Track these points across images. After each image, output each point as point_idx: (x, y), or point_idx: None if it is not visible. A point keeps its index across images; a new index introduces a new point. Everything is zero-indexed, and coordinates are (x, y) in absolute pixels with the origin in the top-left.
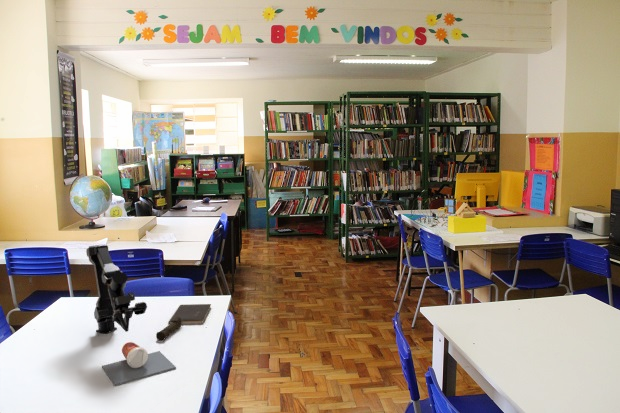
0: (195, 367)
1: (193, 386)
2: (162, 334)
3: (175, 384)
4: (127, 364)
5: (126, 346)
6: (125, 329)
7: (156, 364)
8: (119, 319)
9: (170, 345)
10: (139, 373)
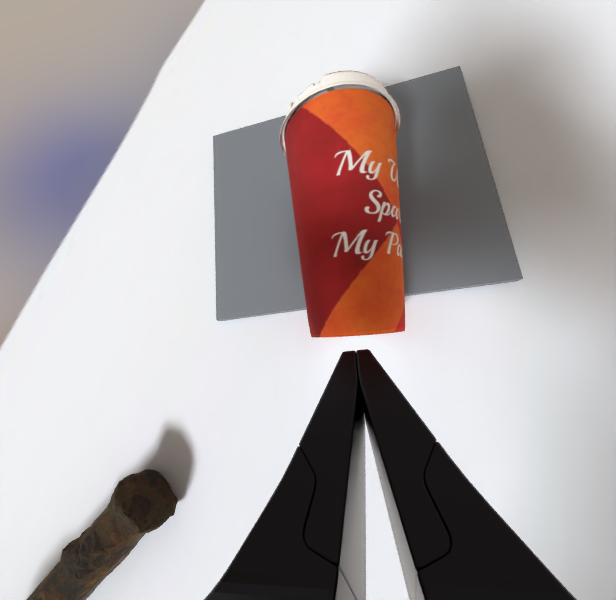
0: (163, 129)
1: (215, 17)
2: (130, 488)
3: (254, 38)
4: None
5: (383, 252)
6: (376, 362)
7: (266, 183)
8: (544, 567)
9: (156, 377)
10: None
